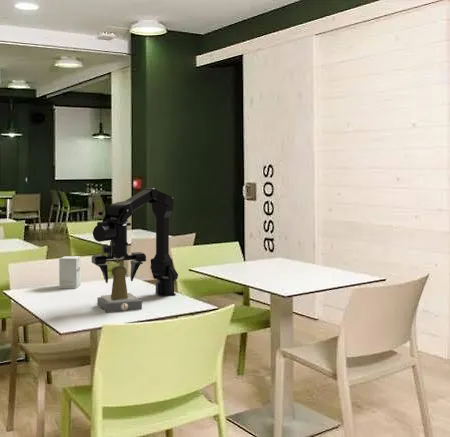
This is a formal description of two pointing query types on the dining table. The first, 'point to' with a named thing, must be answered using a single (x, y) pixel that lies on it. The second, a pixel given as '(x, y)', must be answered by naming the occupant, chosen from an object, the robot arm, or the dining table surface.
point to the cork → (119, 283)
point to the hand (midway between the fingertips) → (119, 281)
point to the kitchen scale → (119, 303)
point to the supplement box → (69, 272)
